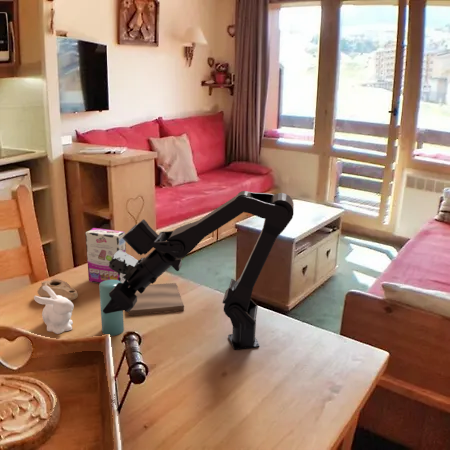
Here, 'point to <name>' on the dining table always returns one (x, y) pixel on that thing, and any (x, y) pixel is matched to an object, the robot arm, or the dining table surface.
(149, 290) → the walnut board
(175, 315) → the dining table surface
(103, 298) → the teal cup
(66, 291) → the pottery oil lamp
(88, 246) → the candy bar box
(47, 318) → the rabbit
